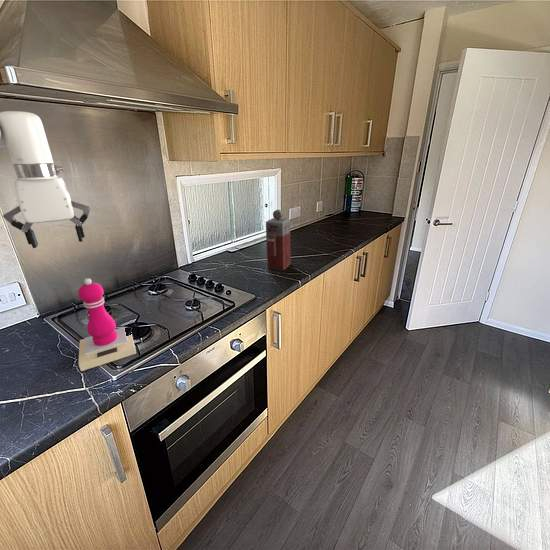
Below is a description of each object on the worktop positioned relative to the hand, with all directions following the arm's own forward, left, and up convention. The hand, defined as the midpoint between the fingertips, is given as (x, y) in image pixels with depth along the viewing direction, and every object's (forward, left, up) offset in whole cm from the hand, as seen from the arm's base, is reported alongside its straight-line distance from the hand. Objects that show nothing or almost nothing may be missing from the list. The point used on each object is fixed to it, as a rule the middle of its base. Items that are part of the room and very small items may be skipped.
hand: (59, 243), depth 74 cm
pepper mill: (+4, -1, -31) cm, 31 cm away
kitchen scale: (+4, -2, -34) cm, 34 cm away
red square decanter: (+81, +27, -34) cm, 91 cm away
